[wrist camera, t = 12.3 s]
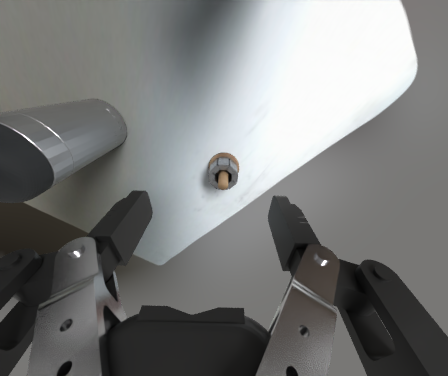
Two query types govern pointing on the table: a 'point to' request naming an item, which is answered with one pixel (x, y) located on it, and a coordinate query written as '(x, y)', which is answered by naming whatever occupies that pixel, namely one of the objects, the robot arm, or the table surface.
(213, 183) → the ring
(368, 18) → the table surface
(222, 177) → the wooden peg stand
